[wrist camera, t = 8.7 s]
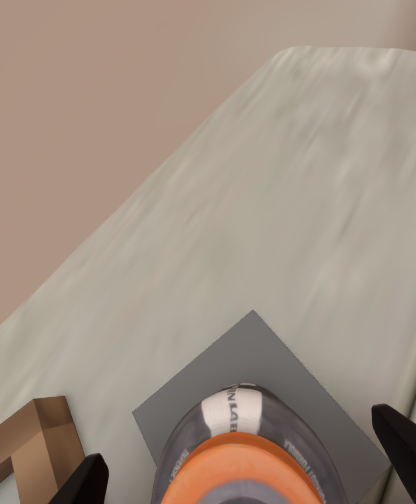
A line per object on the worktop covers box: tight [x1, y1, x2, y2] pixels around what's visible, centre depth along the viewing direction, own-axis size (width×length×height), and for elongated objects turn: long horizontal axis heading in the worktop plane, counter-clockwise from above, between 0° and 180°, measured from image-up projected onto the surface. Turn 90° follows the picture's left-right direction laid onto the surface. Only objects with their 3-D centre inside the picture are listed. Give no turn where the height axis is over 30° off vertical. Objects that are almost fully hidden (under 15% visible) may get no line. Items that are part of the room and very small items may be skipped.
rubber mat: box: [132, 310, 391, 504], centre depth 15 cm, size 11×11×1 cm
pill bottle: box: [151, 383, 348, 504], centre depth 9 cm, size 6×6×11 cm
